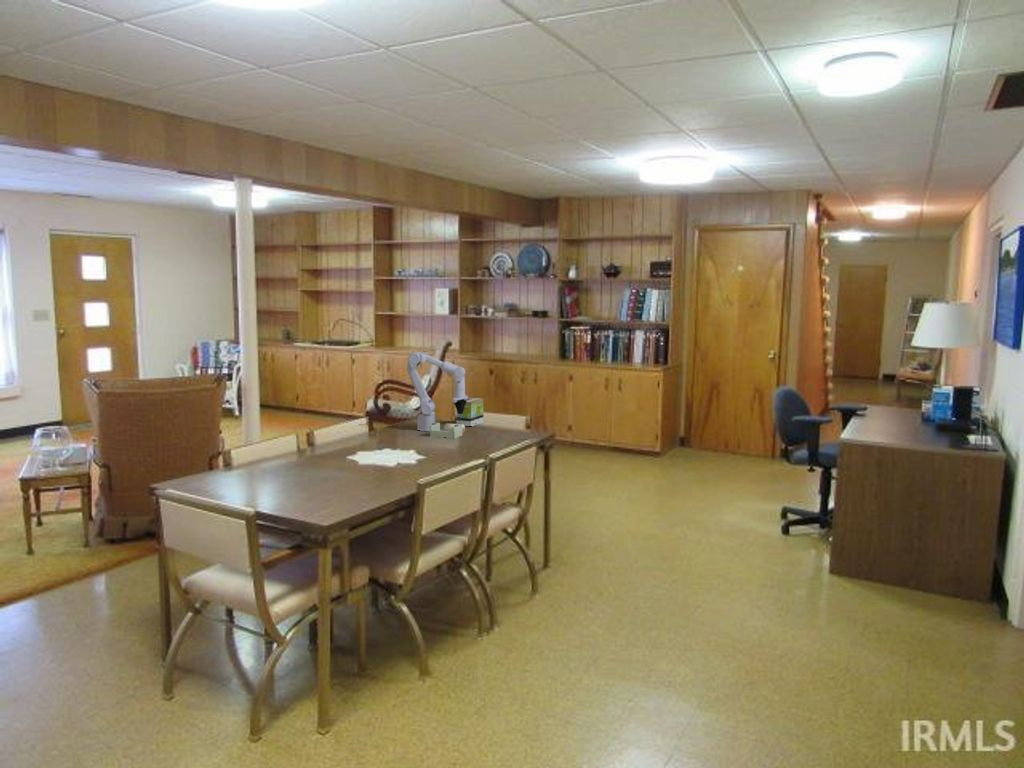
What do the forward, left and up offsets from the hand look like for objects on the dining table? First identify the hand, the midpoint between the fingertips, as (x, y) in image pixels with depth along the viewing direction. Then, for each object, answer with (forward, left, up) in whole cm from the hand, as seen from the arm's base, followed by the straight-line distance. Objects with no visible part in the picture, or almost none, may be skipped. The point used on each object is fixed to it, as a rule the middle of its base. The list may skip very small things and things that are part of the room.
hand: (460, 413), depth 399 cm
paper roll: (0, -7, -7) cm, 10 cm away
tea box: (-3, +17, -10) cm, 20 cm away
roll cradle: (0, -17, -9) cm, 19 cm away
